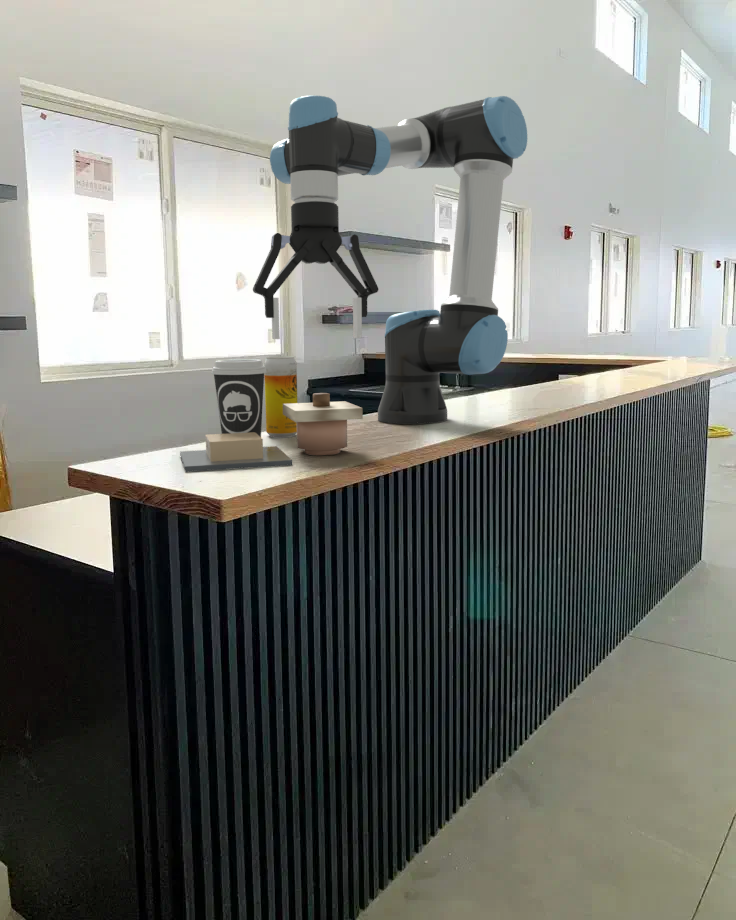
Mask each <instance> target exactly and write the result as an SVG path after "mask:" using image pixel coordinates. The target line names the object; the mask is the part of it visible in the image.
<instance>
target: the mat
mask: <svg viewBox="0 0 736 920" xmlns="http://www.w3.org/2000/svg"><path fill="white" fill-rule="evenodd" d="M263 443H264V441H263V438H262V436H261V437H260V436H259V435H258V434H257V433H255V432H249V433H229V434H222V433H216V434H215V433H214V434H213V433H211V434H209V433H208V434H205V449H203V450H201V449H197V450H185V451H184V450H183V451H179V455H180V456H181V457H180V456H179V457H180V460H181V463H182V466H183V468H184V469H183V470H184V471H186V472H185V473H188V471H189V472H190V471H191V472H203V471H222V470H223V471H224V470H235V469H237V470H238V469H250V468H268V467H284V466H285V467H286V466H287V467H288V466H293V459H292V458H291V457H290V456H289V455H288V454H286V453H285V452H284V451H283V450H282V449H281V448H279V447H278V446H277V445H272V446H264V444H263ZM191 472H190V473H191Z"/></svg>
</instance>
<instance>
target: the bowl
mask: <svg viewBox="0 0 736 920" xmlns="http://www.w3.org/2000/svg"><path fill="white" fill-rule="evenodd" d="M296 423H297V433H296V447H297V449H300V450H303V451H304V454H305V455H310V456H329V455H330V456H331V455H333V456H334V455H337V454H340V453H341V449H345V448H347V447H348V420H333V421H312V422H296Z"/></svg>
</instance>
